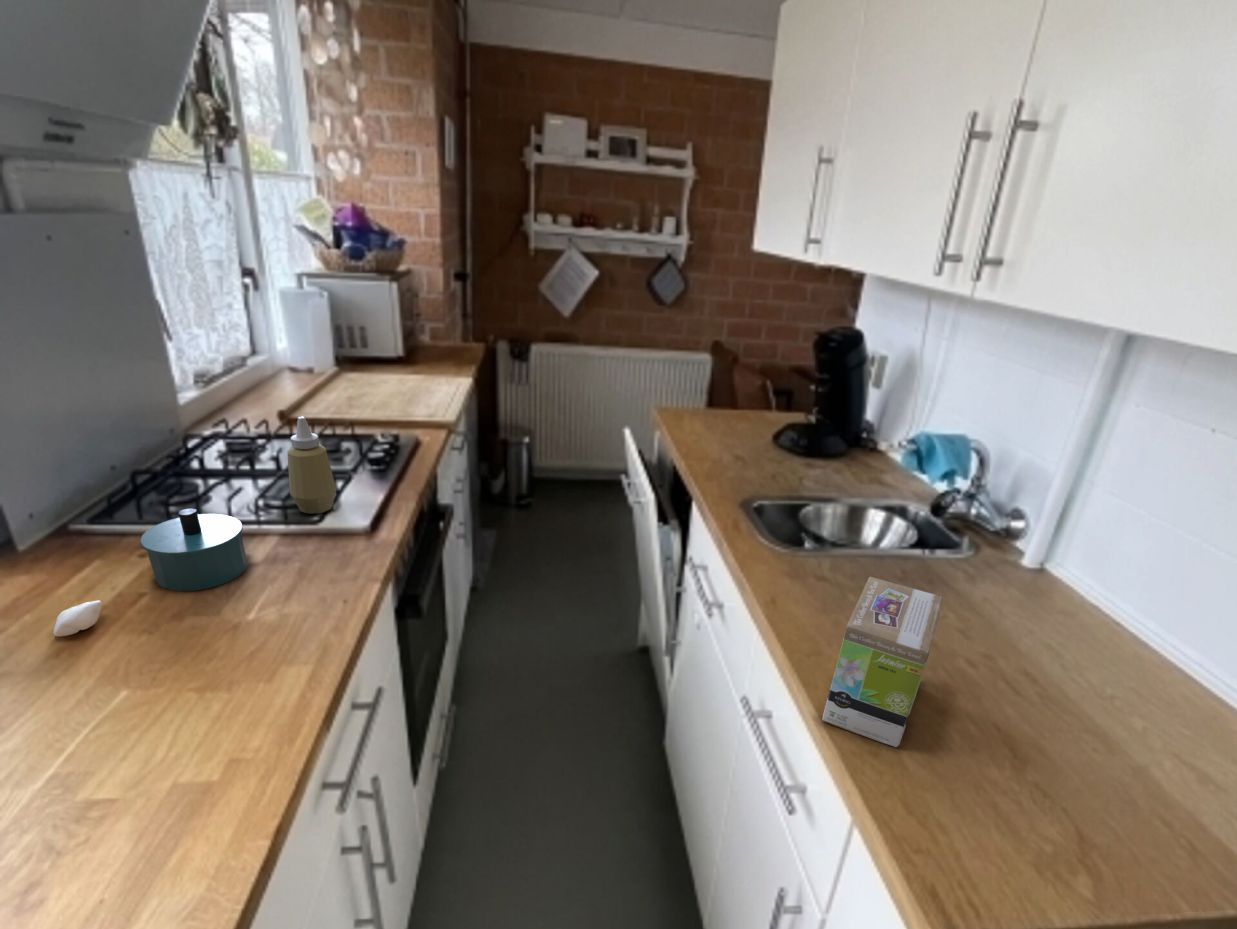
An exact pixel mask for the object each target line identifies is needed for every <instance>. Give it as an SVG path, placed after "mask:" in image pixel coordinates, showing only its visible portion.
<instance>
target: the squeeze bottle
mask: <svg viewBox="0 0 1237 929" xmlns="http://www.w3.org/2000/svg"><path fill="white" fill-rule="evenodd" d="M296 424H297V425H296V434H293V435H292V436H290V443H291V447H290V448H289V449H288V450H287V451H286V452H287V453H286V454H287V466H288V467H287V468H288V480H289V481H288V482H289V483H288V484H289V494H290V496H291V498H292V499H293V501H294V502H295V504H296V506H297V507H298V510H299V511H300V512H302V513H304V514H308V515H309V514H321V513H325V512H328V511H329V510H331V509H332V508H333V506H334V501H335V498H336V497H335V496H336V493H337V486H336V482H335V478H334V474H333V471H332V467H331V463H330V459H329V456H328V452H327V449H326V447H325V446H323V445H321V444H320V438H319V434H316V433H313V432H312V431H311V429H310V426H309V424H308V421H307V419H306V417H305V416H298V417H297V421H296Z"/></svg>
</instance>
